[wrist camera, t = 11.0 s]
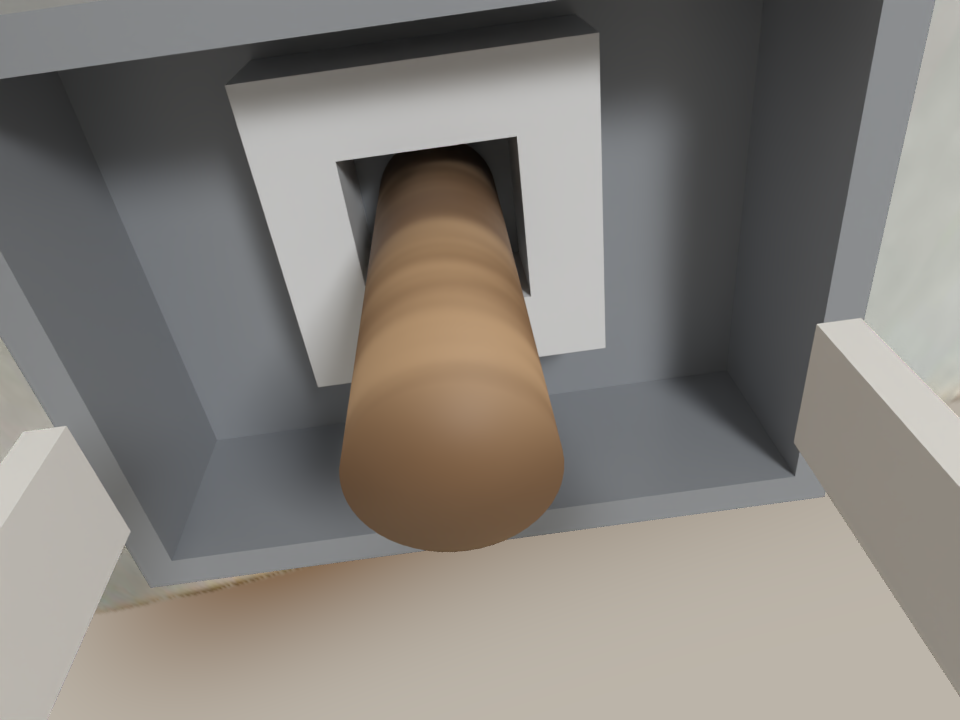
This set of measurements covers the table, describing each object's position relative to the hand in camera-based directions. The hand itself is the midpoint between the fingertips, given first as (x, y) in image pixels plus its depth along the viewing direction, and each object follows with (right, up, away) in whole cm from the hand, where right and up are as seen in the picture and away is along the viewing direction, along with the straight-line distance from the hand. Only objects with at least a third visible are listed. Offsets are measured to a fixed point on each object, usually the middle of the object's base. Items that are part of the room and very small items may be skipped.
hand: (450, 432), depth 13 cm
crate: (-1, +6, +13) cm, 14 cm away
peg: (-1, +7, +11) cm, 13 cm away
